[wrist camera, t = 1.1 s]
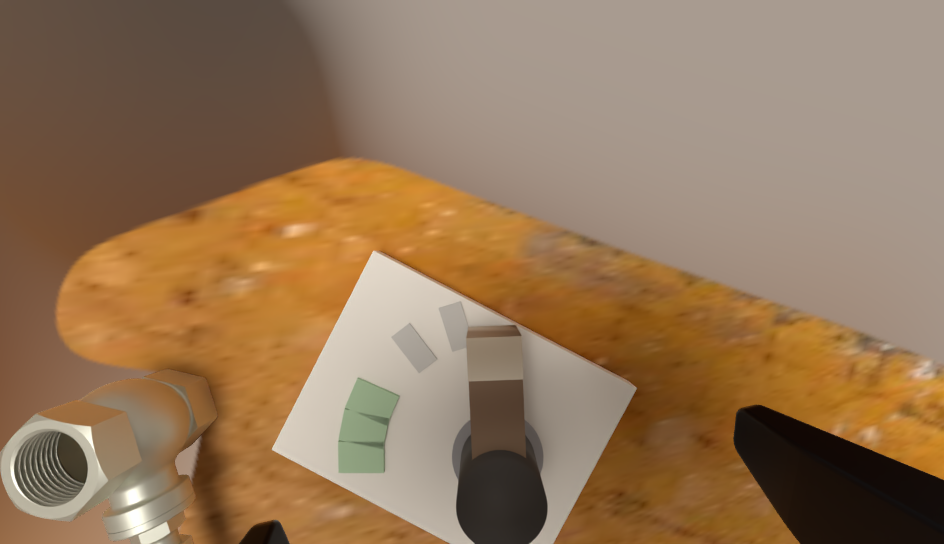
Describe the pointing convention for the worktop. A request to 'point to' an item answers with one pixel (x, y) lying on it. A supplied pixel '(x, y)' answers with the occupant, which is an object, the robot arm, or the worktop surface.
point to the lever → (498, 445)
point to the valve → (113, 456)
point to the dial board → (438, 402)
